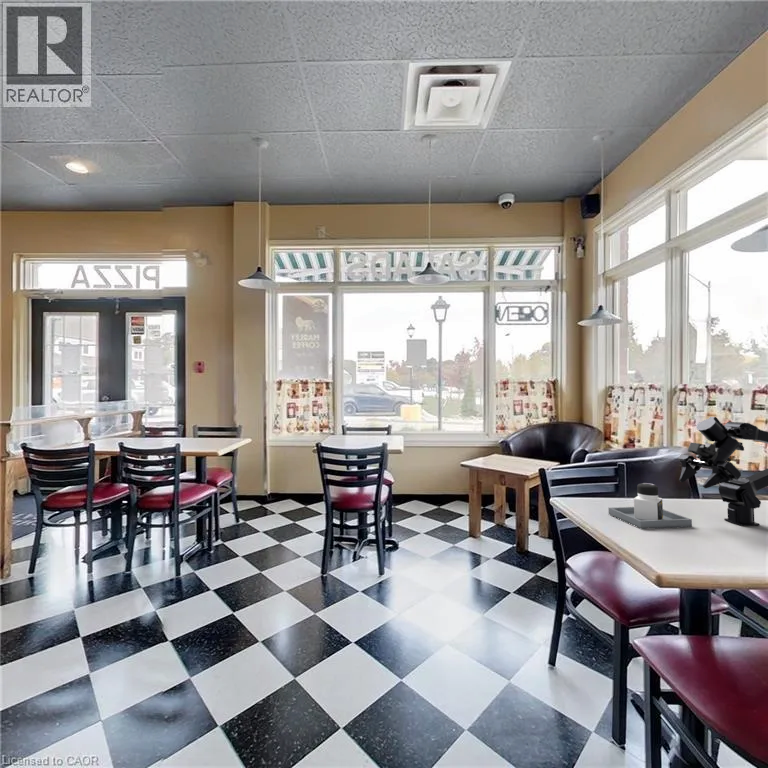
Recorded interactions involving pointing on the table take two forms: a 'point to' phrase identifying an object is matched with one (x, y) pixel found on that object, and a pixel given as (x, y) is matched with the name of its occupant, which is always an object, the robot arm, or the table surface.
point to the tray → (667, 522)
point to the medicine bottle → (648, 503)
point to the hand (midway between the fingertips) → (691, 484)
